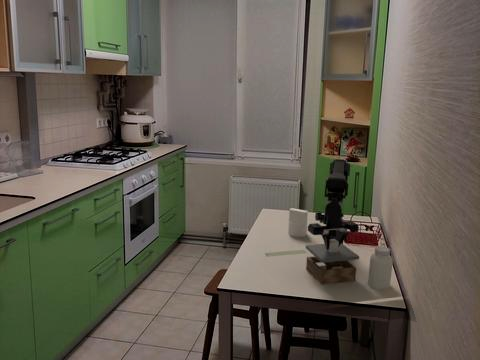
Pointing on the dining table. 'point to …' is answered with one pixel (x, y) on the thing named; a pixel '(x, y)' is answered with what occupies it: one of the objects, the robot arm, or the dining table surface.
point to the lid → (332, 252)
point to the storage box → (331, 271)
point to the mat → (286, 253)
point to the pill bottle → (380, 268)
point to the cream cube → (321, 265)
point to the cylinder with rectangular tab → (297, 222)
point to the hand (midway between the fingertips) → (331, 249)
